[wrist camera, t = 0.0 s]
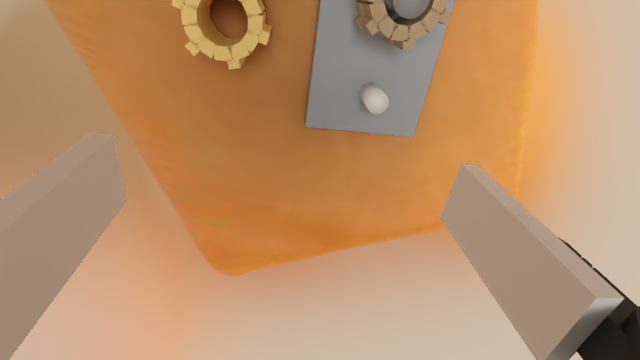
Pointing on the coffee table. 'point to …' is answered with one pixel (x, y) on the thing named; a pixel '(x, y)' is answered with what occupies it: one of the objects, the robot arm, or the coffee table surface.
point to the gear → (400, 22)
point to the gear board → (369, 71)
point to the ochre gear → (214, 43)
